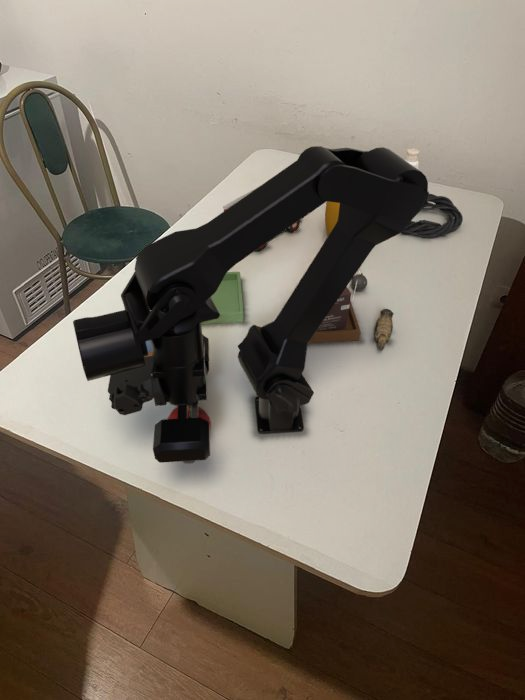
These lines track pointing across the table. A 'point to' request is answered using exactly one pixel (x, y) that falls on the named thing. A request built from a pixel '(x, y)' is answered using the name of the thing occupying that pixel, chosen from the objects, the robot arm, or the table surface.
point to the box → (337, 313)
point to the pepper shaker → (412, 157)
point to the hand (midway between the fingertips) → (189, 433)
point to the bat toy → (359, 282)
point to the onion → (200, 414)
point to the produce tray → (228, 300)
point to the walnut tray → (340, 331)
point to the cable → (433, 228)
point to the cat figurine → (384, 328)
